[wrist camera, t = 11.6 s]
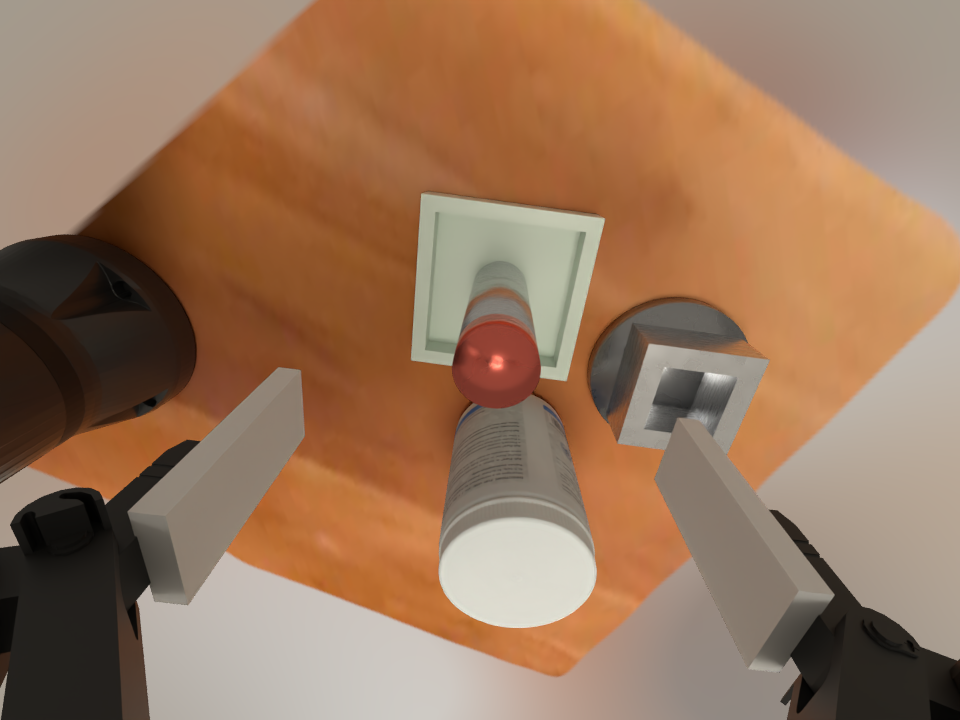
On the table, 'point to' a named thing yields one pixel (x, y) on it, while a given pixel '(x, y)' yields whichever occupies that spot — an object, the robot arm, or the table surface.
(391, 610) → the table surface
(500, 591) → the supplement tub
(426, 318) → the tray
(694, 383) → the grey socket fixture
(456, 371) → the red capped bottle
